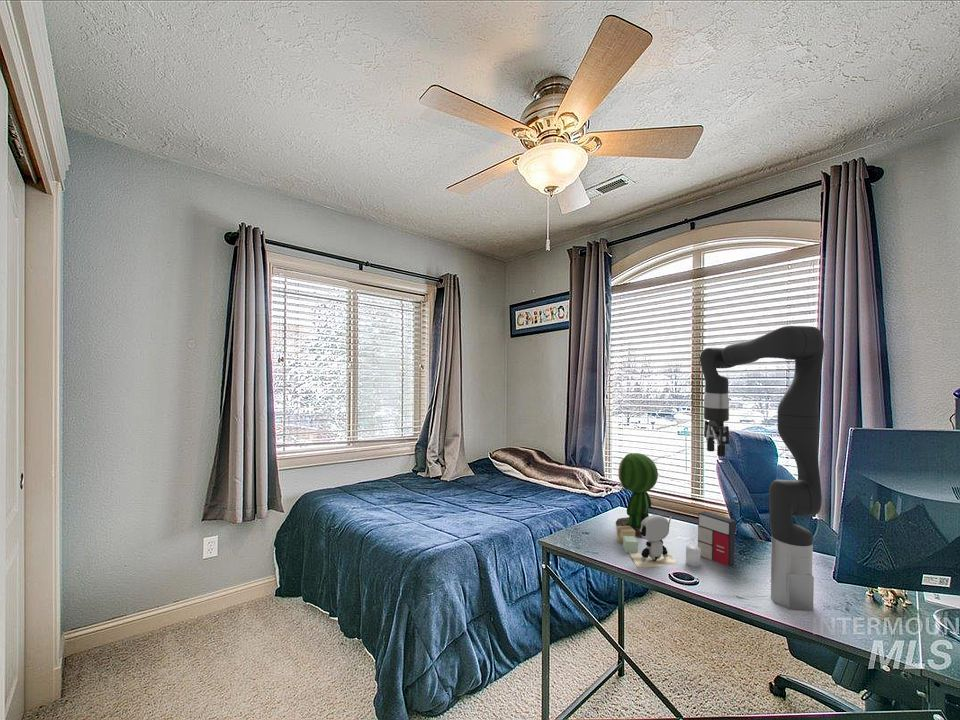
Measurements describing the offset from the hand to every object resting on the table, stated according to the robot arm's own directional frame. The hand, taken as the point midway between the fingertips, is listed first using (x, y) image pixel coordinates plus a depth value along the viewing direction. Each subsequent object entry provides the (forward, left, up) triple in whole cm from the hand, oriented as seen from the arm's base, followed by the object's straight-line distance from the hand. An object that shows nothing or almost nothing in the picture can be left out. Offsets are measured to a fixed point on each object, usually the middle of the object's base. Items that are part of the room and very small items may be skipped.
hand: (715, 453), depth 151 cm
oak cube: (+11, +27, -36) cm, 46 cm away
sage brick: (+4, +27, -36) cm, 45 cm away
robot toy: (-4, +21, -36) cm, 42 cm away
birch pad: (-6, +21, -36) cm, 42 cm away
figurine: (+25, +19, -36) cm, 48 cm away
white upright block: (-6, +9, -36) cm, 38 cm away
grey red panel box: (-1, 0, -36) cm, 36 cm away
